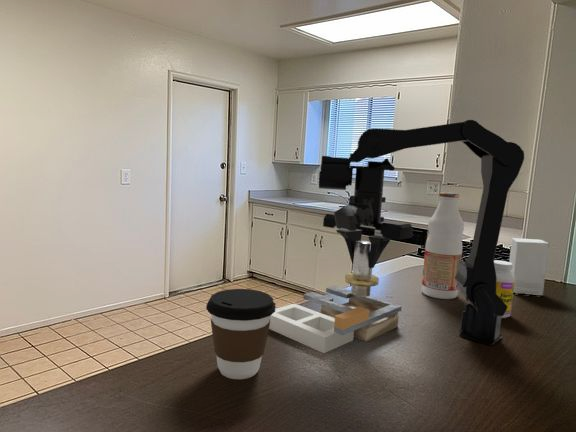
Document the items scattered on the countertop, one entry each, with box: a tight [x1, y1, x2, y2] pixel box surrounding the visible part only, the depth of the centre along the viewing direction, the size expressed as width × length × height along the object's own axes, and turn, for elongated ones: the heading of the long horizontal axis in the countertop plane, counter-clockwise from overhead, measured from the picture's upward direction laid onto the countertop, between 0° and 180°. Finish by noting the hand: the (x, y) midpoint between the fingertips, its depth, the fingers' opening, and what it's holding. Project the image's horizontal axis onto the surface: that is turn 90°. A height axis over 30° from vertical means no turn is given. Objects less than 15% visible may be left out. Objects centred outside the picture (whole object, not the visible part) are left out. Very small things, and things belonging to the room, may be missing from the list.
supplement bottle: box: [494, 259, 515, 319], centre depth 102 cm, size 7×7×13 cm
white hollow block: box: [269, 303, 354, 354], centre depth 84 cm, size 16×9×3 cm, turn 46°
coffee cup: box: [205, 288, 276, 380], centre depth 67 cm, size 11×11×12 cm
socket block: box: [319, 297, 399, 342], centre depth 90 cm, size 12×12×4 cm
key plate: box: [302, 285, 403, 335], centre depth 88 cm, size 18×20×3 cm
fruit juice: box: [421, 191, 465, 300], centre depth 115 cm, size 9×9×28 cm
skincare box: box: [508, 237, 550, 296], centre depth 122 cm, size 8×7×16 cm
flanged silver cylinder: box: [344, 240, 380, 297], centre depth 89 cm, size 7×7×11 cm
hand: (362, 265), depth 89 cm, fingers closed on flanged silver cylinder, 4 cm apart
